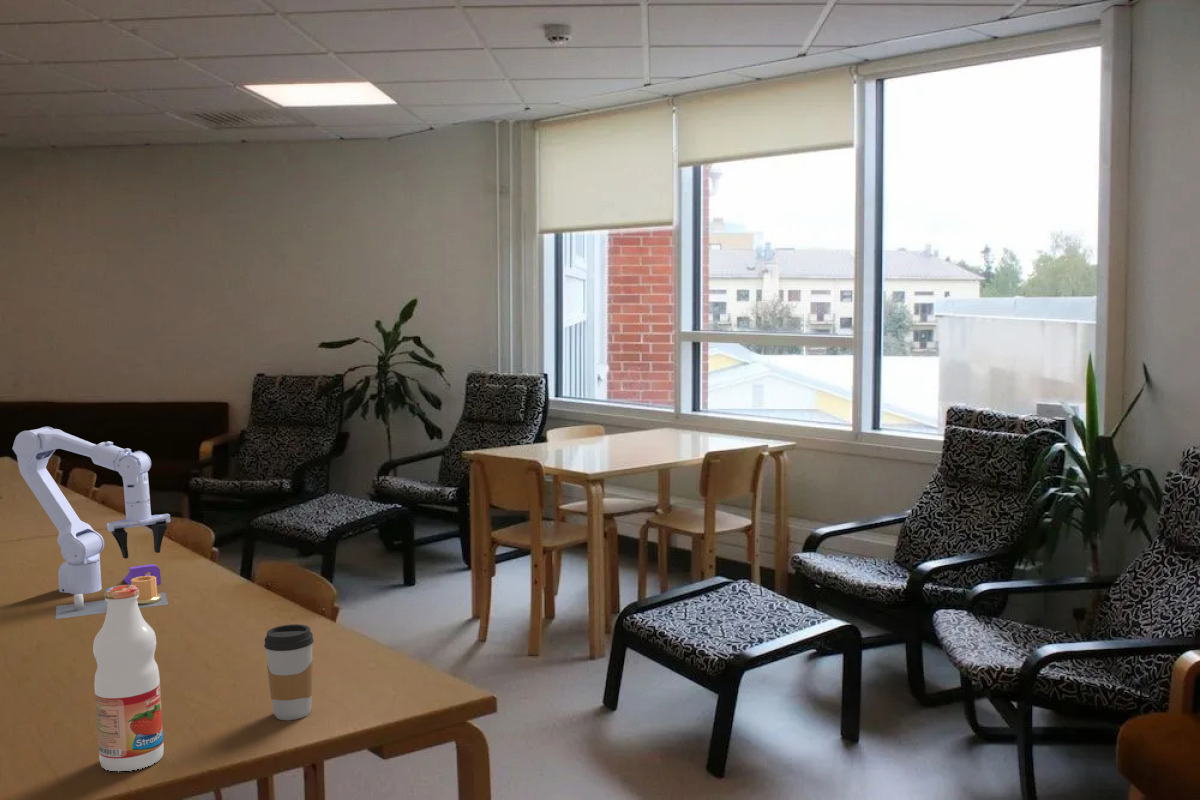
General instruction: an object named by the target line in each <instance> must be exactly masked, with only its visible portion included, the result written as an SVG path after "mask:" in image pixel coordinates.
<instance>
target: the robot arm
mask: <svg viewBox="0 0 1200 800" xmlns="http://www.w3.org/2000/svg"><path fill="white" fill-rule="evenodd" d="M11 449H12V450H13V452H14V454H15V455H16V459H17V463H18V471H19V474H20V475H21V477H22V478H23V480H24V481H25V483H26V484H27V486H28V487H29V489H30V490H31V492H32V493H33V495H34V497H35V498H36V499H37V501H38V502H39V503H40V506H41V507H42V508H43V510H44V511H45V513H46V515H47V516H48V517H49V519H50V520H51V523H52V524H53V525H54V526H55V528H56V530H57V531H58V536H57V539H56V541H57V544H58V546H59V548H60V553H61V556H62V558H63V560H65V561H64V562H62V563H61V564H60V566H59V569H58V571H57V572H58V573H57V574H58V575H57V576H58V590H59V593H67V594H71V595H76V594H83V595H87V594H93V593H96V592H100V591H101V590H102V575H101V574H102V573H101V559H100V558H101V553H102V552H103V550H104V547H105V540H104V537H103V536H102V535H101V534H100V533H99V532H97V531H96V530H94V529H93V527H92V526H91V525H90V524H89V523H87V522H84V521H82V520H81V519H80V517H79V516H78V514H77V513H76V512H75V510H74V509H73V507H72V506H71V504H70V502H69V501H68V499H67V498H66V497H65V495H64V494H63V492H62V490H61V489H60V487H59V485H58V484H57V483H56V481H55V480H54V478H53V477H52V475H51V474H50V472H49V471H48V469H47V465H48V462H49V459H50V458H51V457H52V455H53V454H54V453H55V452H56V450H59V449H60V450H64V451H67V452H71V453H74V454H77V455H82V456H84V457H85V456H86V457H88V458H90V459H91V461H92V463H93V464H94V465H97V466H99V467H100V466H101V467H103V468H106V469H108V470H112V471H114V472H118V474H119V475H120V476H121V478H122V483H123V494H124V507H125V519H120V520H115V521H110V522H106V528H107V529H106V530H107V531H108V532H111V534H112V536H113V537H114V539H115V540H116V542H117V544H118V547H119V548H120V552H121V557H122V558H123V559H125V560H126V559H129V549H128V531H126V529H132V528H139V527H144V526H150V525H151V530H152V535H153V550H154V553H157V554H159V553H161V547H162V542H163V538H164V536H165V533H166V531H167V529H168V523H170V522H171V514H169V513H163V514H153V515H152V510H151V496H150V484H149V473H148V472H149V471H150V469H151V467H152V460H151V458H150V456H149V455H148V454H147V453H146V452H144V451H142V450H137V451H136V450H135V451H134V452H132V449H131V448H128V447H127V448H122V447H119V446H117V445H114V442H113V441H102V442H100V443H98V444H96V443H92V442H90V441H88V440H85V439H82V438H80V437H78V436H75V435H72V434H70V433H67V432H65V431H63V430H62V429H58V428H53V427H51V426H42V427H40V428H37V429H30V430H23V431H21V432H19V433H18V434H16V436H15V439H14V441H13V446H12V448H11Z"/></svg>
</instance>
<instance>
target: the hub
mask: <svg viewBox="0 0 1200 800" xmlns="http://www.w3.org/2000/svg"><path fill="white" fill-rule="evenodd" d="M141 581H143V580H141ZM158 593H159V592H157V596H156V597H155V598H152V599H148V600H137V603H138V605H148V604H153V603H156V602H158V601H160V600H161V595H160V594H158Z"/></svg>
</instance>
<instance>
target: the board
mask: <svg viewBox="0 0 1200 800" xmlns="http://www.w3.org/2000/svg"><path fill="white" fill-rule="evenodd" d="M157 593H158V594H160V595H161V600H160V601H158V602H156V603H153V604H148V605H138V607H139V609H146V608H153V607H160V606H161V607H162V606H166V605H167V606H168V605H169V602H168V597H167V594H166V592H157ZM84 601H85V600H84V594H73V603H72V604H64V605H63V604H62V605H56V607H55V620H61V619H70V618H78V617H85V616H92V615H99V614H101V615H102V614H105V613H106V614H107V602H106V601H105V599H103V600H96V601H95V600H94V601H87V602H86V601H85V602H84Z"/></svg>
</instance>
